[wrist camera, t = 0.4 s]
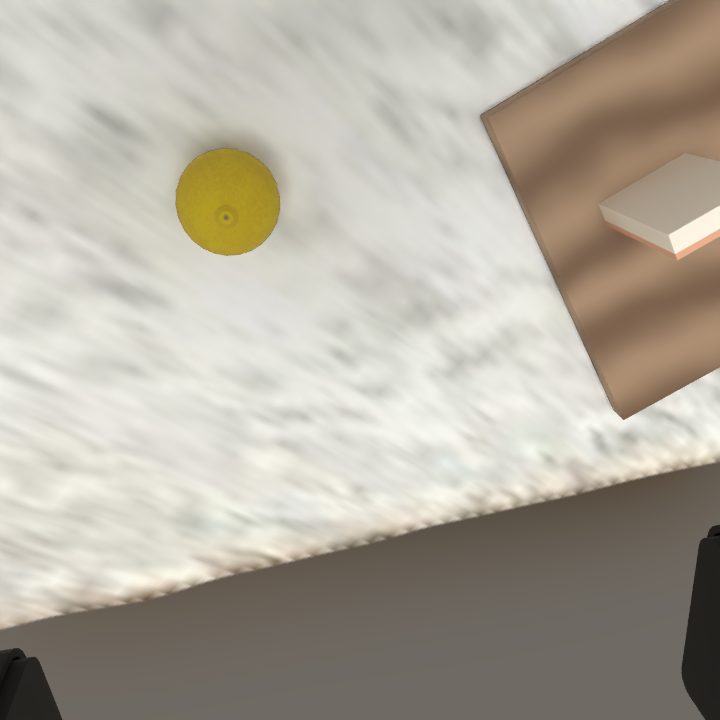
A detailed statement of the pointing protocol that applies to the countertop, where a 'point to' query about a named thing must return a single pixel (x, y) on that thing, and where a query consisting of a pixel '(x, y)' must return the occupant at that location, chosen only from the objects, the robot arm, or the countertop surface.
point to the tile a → (670, 206)
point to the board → (611, 175)
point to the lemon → (227, 201)
